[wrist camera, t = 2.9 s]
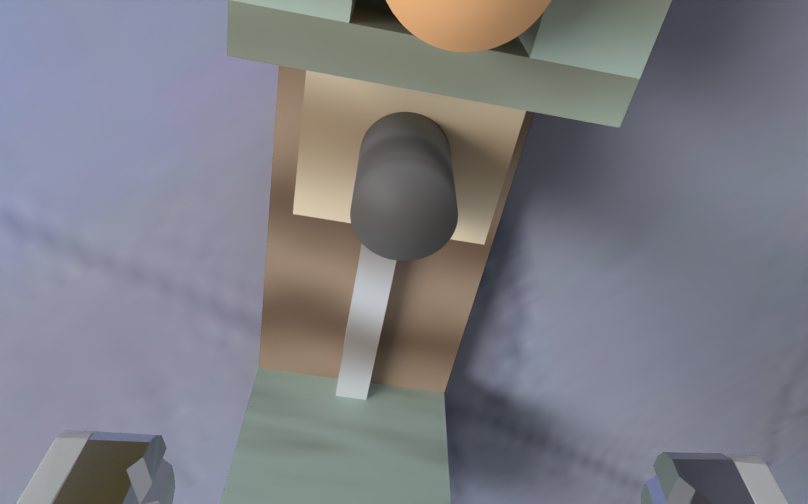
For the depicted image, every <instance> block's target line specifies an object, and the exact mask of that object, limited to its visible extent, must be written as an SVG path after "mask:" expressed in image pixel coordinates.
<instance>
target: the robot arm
mask: <svg viewBox="0 0 808 504" xmlns="http://www.w3.org/2000/svg"><path fill="white" fill-rule="evenodd" d="M165 451H166V446H165V443H164V440H163V437H162V435H147V434H129V433H112V432H97V431H72V430H65V431H64V432H63V433H61V434H60V435H59V436H58V437H57V438H56V439H55V440H54V442H53V443H52V445H51V447H50V448H49V450H48V452H47V453H46V455H45V457H44V458H43V460H42V462H41V463H40V465H39V467H38V468H37V470H36V472H35V473H34V475H33V477H32V478H31V480H30V482H29V483H28V485H27V487H26V488H25V490H24V492H23V493H22V495H21V497H20V498H19V500H18V502H17V503H16V504H172V502H173V496H174V490H175V478H174V472H173V468H172V465H171V464H169V463H168V462H167V461H165V460H164V459H163V456H164V453H165ZM653 466H654V469H655V471H656V474H657V476H655V477H654V478H652V479H651V480H649V481H647V482H646V484H645V487H644V489H643V492H642V495H641V504H788V503H787V501H786V499H785V497H784V495H783V494H782V492H781V490H780V488H779V487H778V485H777V483H776V481H775V479H774V478H773V476H772V474H771V472H770V470H769V469H768V467H767V465H766V463H765V462H764V461H763V460H762V459H761V458H760V457H759V456H755V455H723V454H721V453H676V452H663V453H662V454H660V455H659V456H658V457H657V459H656V461H655V463H654V465H653Z"/></svg>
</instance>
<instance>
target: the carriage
mask: <svg viewBox="0 0 808 504" xmlns="http://www.w3.org/2000/svg"><path fill="white" fill-rule="evenodd" d="M525 113H526V111H525V110H520V109H514V108H509V107H503V106H498V105H492V104H487V103H482V102H476V101H471V100H465V99H460V98H454V97H449V96H443V95H438V94H433V93H427V92H422V91H416V90H411V89H405V88H400V87H394V86H389V85H384V84H378V83H373V82H367V81H362V80H356V79H351V78H345V77H340V76H335V75H329V74H324V73H318V72H313V71H307V70H306V78H305V88H304V99H303V110H302V121H301V131H300V142H299V153H298V163H297V174H296V185H295V196H294V206H293V214H296V215H302V216H309V217H315V218H321V219H327V220H333V221H340V222H346V223H351V224H352V228H353V230H354V233H355V234H356V236H357V238H358V239H359V240H360V242H361V243H362V244H363V245H364V246H365V247H366V248H368V249H369V250H370V251H372V252H373V253H375V254H377V255H379V256H381V257H384V258H387V259H391V260H397V261H412V260H418V259H422V258H425V257H428V256H430V255H432V254H434V253H436V252H437V251H439V250H440V249H441V248H442V247H444V246H445V245H446V244H447V242H448V241H449V240H450V239H452V240H458V241H464V242H470V243H477V244H483V245H484V244H485V241H486V237H487V234H488V231H489V228H490V225H491V222H492V218H493V215H494V212H495V209H496V206H497V202H498V199H499V196H500V193H501V190H502V186H503V183H504V180H505V177H506V174H507V170H508V167H509V164H510V161H511V158H512V154H513V151H514V148H515V145H516V142H517V139H518V135H519V132H520V129H521V126H522V123H523V119H524V116H525Z"/></svg>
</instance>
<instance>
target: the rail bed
mask: <svg viewBox="0 0 808 504" xmlns="http://www.w3.org/2000/svg"><path fill="white" fill-rule="evenodd" d="M671 2H672V0H551V2H550V3H549V5H548V6H547V8H546V9H545V11H544V12H543V13H542V14H541V16H540V17H539V18H538V19H537V20H536V21H535V22H534V23H533V24H532V25H531V26H530V27H529V28H528V29H527V30H526V31H524V32H523V33H521V34H520V35H519V36H517V37H516V38H514V39H512V40H511V41H509V42H507V43H505V44H502V45H500V46H498V47H495V48H492V49H488V50H484V51H478V52H454V51H448V50H444V49H440V48H437V47H435V46H432V45H430V44H427V43H426V42H424V41H422V40H421V39H419V38H417V37H416V36H415V35H413V34H412V33H411V32H410V31H408V30H407V29H406V28H405V27H404V26H403V25H402V24H401V23H400V21H399V20H398V19H397V18H396V16H395V15H394V14H393V12H392V10H391V9H390V7H389V5H388V4H387V2H386V0H228V48H227V56H231V57H237V58H242V59H247V60H253V61H258V62H264V63H269V64H275V65H279V74H278V89H277V104H276V118H275V133H274V148H273V163H272V178H271V193H270V207H269V222H268V237H267V252H266V267H265V282H264V296H263V311H262V326H261V341H260V356H259V369H258V372H257V376H256V379H255V382H254V386H253V389H252V393H251V396H250V400H249V403H248V407H247V410H246V414H245V417H244V421H243V424H242V428H241V431H240V435H239V438H238V442H237V445H236V449H235V452H234V456H233V459H232V463H231V466H230V470H229V473H228V477H227V480H226V484H225V487H224V491H223V494H222V498H221V501H220V504H451V498H450V481H449V465H448V448H447V431H446V415H445V398H444V392H445V389H446V386H447V383H448V380H449V376H450V373H451V370H452V367H453V364H454V361H455V358H456V355H457V352H458V349H459V345H460V342H461V339H462V336H463V333H464V330H465V327H466V324H467V321H468V317H469V314H470V311H471V308H472V305H473V302H474V299H475V296H476V293H477V290H478V286H479V283H480V280H481V277H482V274H483V271H484V268H485V265H486V262H487V258H488V255H489V252H490V249H491V246H492V243H493V240H494V237H495V234H496V231H497V227H498V224H499V221H500V218H501V215H502V212H503V209H504V206H505V203H506V199H507V196H508V193H509V190H510V187H511V184H512V181H513V178H514V175H515V172H516V168H517V165H518V162H519V159H520V156H521V153H522V150H523V147H524V144H525V140H526V137H527V134H528V131H529V128H530V125H531V122H532V119H533V116H534V113H535V112H536V113H541V114H547V115H552V116H558V117H563V118H569V119H574V120H580V121H585V122H590V123H596V124H601V125H607V126H612V127H618V128H620V126H621V123H622V121H623V118H624V116H625V114H626V111H627V109H628V106H629V104H630V101H631V99H632V97H633V94H634V92H635V89H636V87H637V84H638V82H639V80H640V77H641V75H642V72H643V70H644V67H645V65H646V63H647V60H648V58H649V55H650V53H651V50H652V48H653V46H654V43H655V41H656V38H657V36H658V33H659V31H660V29H661V26H662V24H663V21H664V19H665V16H666V14H667V12H668V9H669V7H670V4H671ZM306 70H307V71H313V72H318V73H324V74H329V75H335V76H340V77H345V78H351V79H356V80H362V81H367V82H373V83H378V84H384V85H389V86H394V87H400V88H405V89H411V90H416V91H422V92H427V93H433V94H438V95H443V96H449V97H454V98H460V99H465V100H471V101H476V102H482V103H487V104H492V105H498V106H503V107H509V108H514V109H520V110H525V111H526V113H525V116H524V119H523V123H522V126H521V129H520V132H519V135H518V139H517V142H516V145H515V148H514V151H513V154H512V158H511V161H510V164H509V167H508V170H507V174H506V177H505V180H504V183H503V186H502V190H501V193H500V196H499V199H498V202H497V206H496V209H495V212H494V215H493V218H492V222H491V225H490V228H489V231H488V234H487V237H486V241H485V244H484V245H483V244H477V243H470V242H464V241H458V240H452V239H450V240H449V241H448V242H447V244H446V245H445V246H444V247H442V248H441V249H440V250H439V251H437V252H436V253H434V254H432V255H430V256H428V257H425V258H422V259H418V260H412V261H397V260H391V259H387V258H384V257H381V256H379V255H377V254H375V253H373V252H372V251H370V250H369V249H368V248H366V247H365V246H364V245H363V244H362V243H361V242H360V240H359V239H358V238H357V236H356V234H355V233H354V230H353V228H352V224H351V223H346V222H340V221H333V220H327V219H321V218H315V217H309V216H302V215H296V214H293V206H294V196H295V185H296V174H297V163H298V153H299V142H300V131H301V121H302V110H303V99H304V88H305V78H306Z"/></svg>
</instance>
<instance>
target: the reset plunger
mask: <svg viewBox="0 0 808 504" xmlns="http://www.w3.org/2000/svg"><path fill="white" fill-rule="evenodd" d="M386 2H387V4H388V5H389V7H390V9H391V10H392V12H393V14H394V15H395V16H396V18H397V19H398V20H399V21H400V23H401V24H402V25H403V26H404V27H405V28H406V29H407V30H408V31H410V32H411V33H412V34H413V35H415V36H416V37H417V38H419V39H421V40H422V41H424V42H426V43H427V44H430V45H432V46H435V47H437V48H440V49H444V50H448V51H454V52H478V51H484V50H488V49H492V48H495V47H498V46H500V45H502V44H505V43H507V42H509V41H511V40H512V39H514V38H516V37H517V36H519V35H520V34H521V33H523V32H524V31H526V30H527V29H528V28H529V27H530V26H531V25H532V24H533V23H534V22H535V21H536V20H537V19H538V18H539V17H540V16H541V14H542V13H543V12H544V11H545V9H546V8H547V6H548V5H549V3H550V2H551V0H386Z"/></svg>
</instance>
